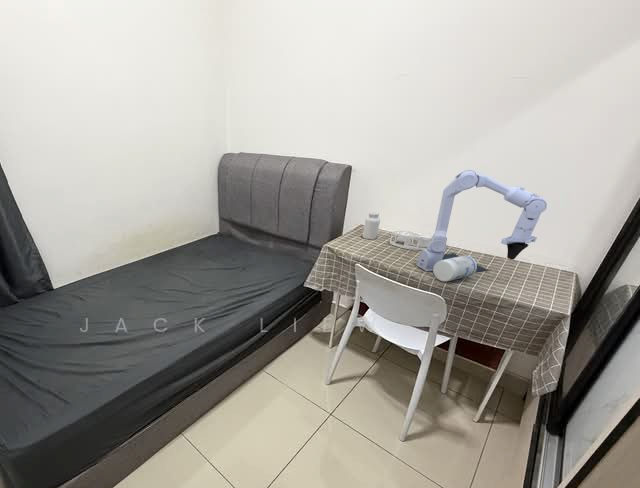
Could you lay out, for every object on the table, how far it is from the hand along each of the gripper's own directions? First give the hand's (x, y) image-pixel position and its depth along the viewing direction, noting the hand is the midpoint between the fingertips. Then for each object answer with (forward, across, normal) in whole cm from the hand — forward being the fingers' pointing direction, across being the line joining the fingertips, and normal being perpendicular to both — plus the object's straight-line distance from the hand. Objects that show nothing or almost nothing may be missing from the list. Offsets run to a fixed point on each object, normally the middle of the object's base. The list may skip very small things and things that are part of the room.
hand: (510, 258), depth 127 cm
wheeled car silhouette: (+11, -12, +44) cm, 47 cm away
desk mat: (+10, -5, +20) cm, 23 cm away
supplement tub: (+6, -12, +8) cm, 15 cm away
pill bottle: (+11, -26, +62) cm, 68 cm away
